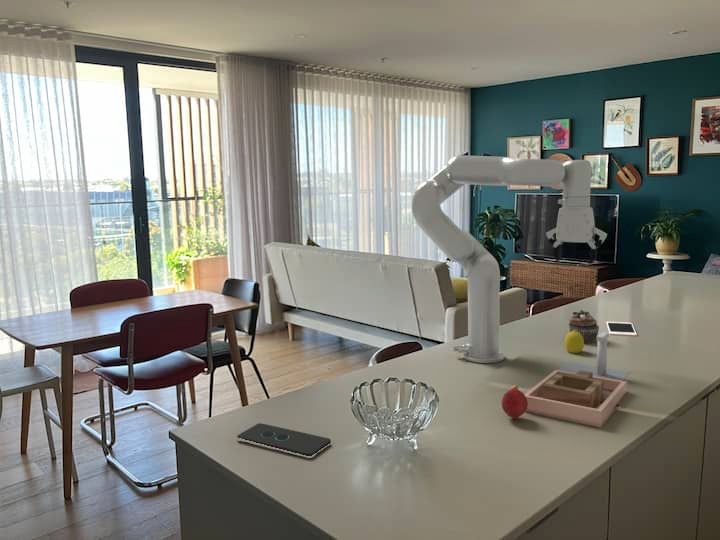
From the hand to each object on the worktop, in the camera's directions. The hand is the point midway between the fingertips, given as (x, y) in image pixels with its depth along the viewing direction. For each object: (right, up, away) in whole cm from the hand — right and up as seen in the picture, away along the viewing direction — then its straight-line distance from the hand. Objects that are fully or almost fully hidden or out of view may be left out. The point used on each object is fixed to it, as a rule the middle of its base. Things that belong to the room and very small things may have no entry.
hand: (575, 261), depth 174 cm
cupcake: (+12, -27, +26) cm, 39 cm away
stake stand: (+1, -32, -11) cm, 34 cm away
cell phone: (+31, -25, +39) cm, 55 cm away
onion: (-28, -37, -37) cm, 60 cm away
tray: (-11, -35, -29) cm, 47 cm away
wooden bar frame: (-10, -34, -29) cm, 46 cm away
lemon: (+3, -29, +9) cm, 31 cm away
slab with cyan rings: (-80, -41, -46) cm, 101 cm away
